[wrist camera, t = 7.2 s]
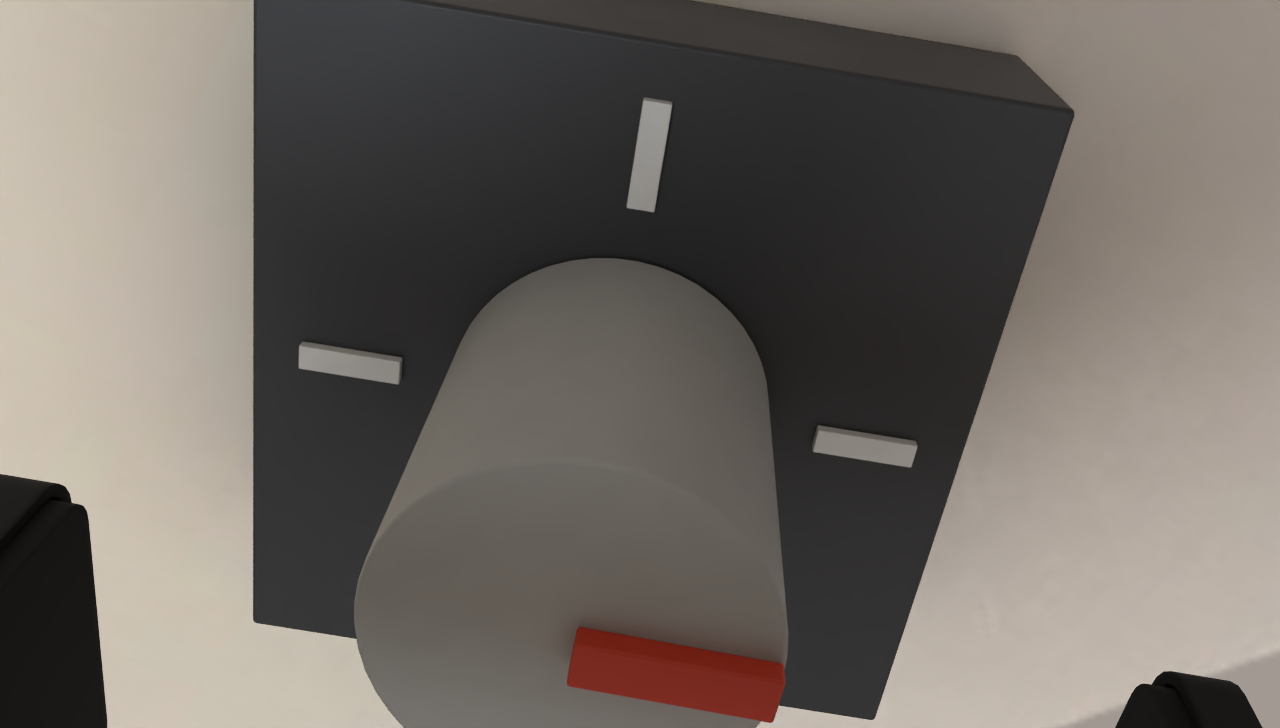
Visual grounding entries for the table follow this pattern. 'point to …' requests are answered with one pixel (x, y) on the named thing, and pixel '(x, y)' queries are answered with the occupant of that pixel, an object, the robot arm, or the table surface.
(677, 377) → the timer knob
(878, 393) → the panel
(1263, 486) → the table surface
